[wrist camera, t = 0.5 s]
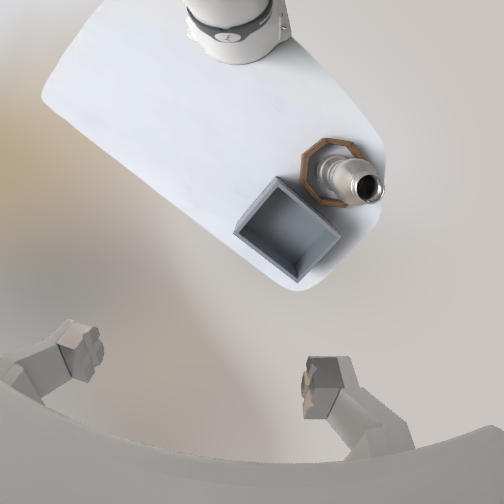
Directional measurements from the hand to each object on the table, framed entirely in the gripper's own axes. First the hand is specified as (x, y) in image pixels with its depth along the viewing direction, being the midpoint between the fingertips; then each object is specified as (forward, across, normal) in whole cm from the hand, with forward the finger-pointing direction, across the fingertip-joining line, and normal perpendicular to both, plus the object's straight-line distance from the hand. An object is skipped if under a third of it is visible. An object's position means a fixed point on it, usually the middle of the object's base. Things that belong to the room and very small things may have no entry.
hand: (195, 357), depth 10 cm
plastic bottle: (+43, -14, -4) cm, 45 cm away
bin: (+43, -6, +7) cm, 44 cm away
